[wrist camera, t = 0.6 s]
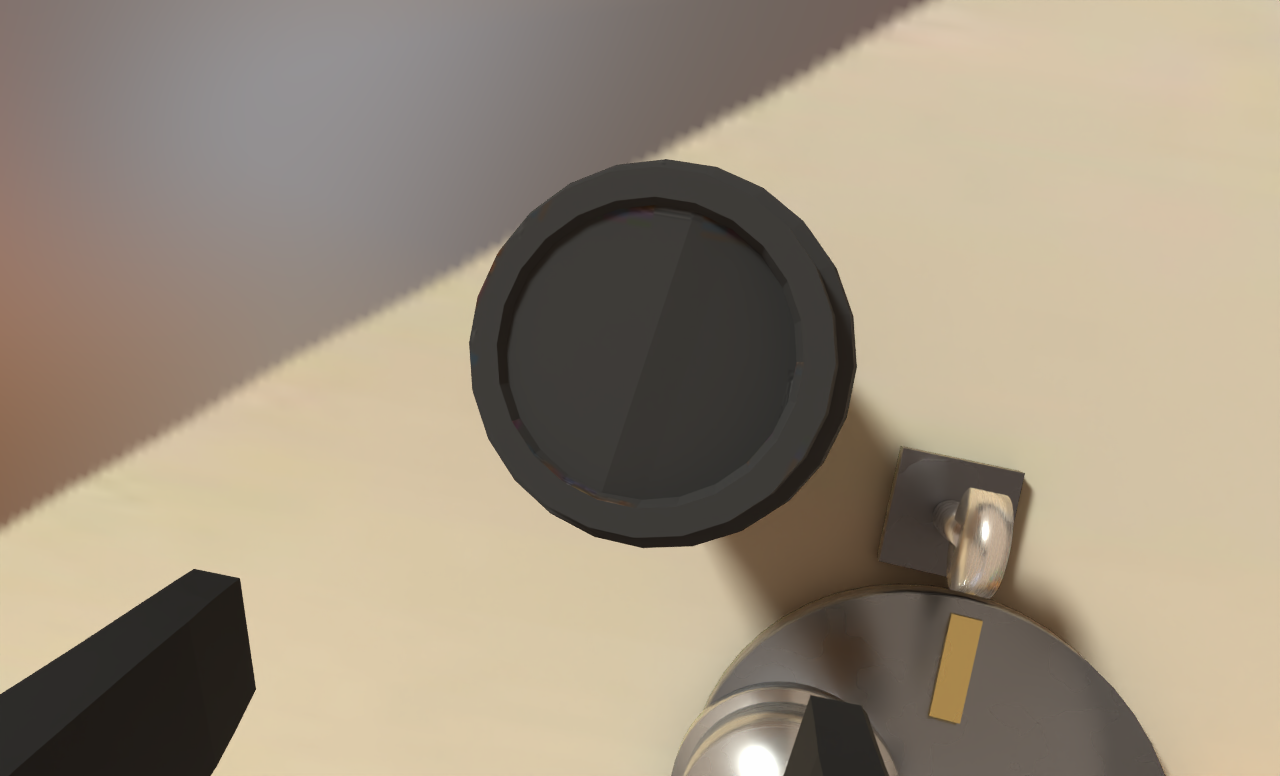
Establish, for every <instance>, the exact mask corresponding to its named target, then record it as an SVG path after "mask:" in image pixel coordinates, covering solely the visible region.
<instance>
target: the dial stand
mask: <svg viewBox="0 0 1280 776" xmlns="http://www.w3.org/2000/svg"><path fill="white" fill-rule="evenodd" d="M1024 475H1025V473H1023V472H1020V471H1017V470H1012V469H1008V468H1003V467H998V466H993V465H989V464H984V463H979V462H974V461H970V460H965V459H960V458H955V457H951V456H946V455H941V454H937V453H932V452H927V451H922V450H918V449H913V448H908V447H903V446H901V447H900V452H899V456H898V461H897V466H896V470H895V475H894V479H893V484H892V489H891V493H890V498H889V503H888V507H887V512H886V516H885V521H884V526H883V530H882V535H881V539H880V544H879V549H878V553H877V558H878V560H879V561H881V562H886V563H890V564H894V565H898V566H903V567H907V568H911V569H915V570H920V571H924V572H928V573H933V574H937V575H941V576H945V577H947V583H948V586H949V588H950V589H951V590H954V591H959V592H963V593H967V594H971V595H976V596H980V597H984V598H991V597H992V596H993V595H994V594H995V593H996V591H997V590H998V589H999V587H1000V584H1001V581H1002V579H1003V576H1004V573H1005V570H1006V567H1007V563H1008V559H1009V554H1010V549H1011V543H1012V536H1013V524H1014V520H1015V515H1016V511H1017V506H1018V502H1019V497H1020V493H1021V488H1022V484H1023V479H1024Z"/></svg>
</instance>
